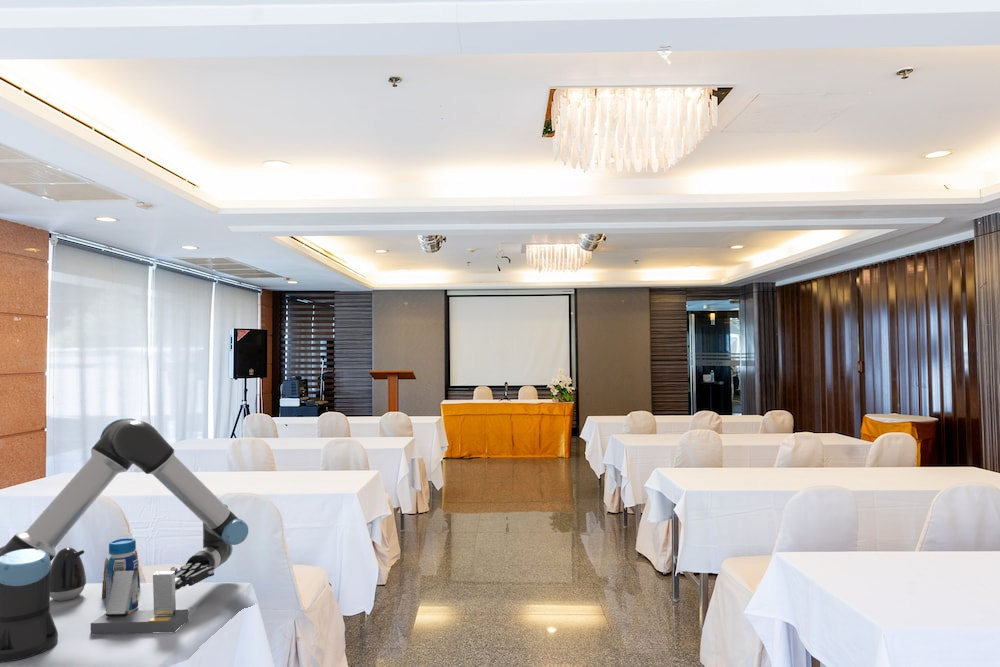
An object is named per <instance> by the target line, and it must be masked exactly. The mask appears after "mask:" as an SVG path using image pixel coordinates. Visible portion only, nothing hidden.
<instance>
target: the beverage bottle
mask: <svg viewBox="0 0 1000 667" xmlns="http://www.w3.org/2000/svg"><path fill="white" fill-rule="evenodd" d="M136 543H137V541H136V538H133V537H132V538H131V537H126V538H117V539H113V540H111V541H110V542H109V543H108V554H109V556H110V557H109V559H108V562H107V565H106V569H107V573H106V575H105V579H106V599H105V612H106V611H107V607H108V602H109V598H110V593H111V589H112V585H113V580H114V576H115V572H116V571H137V574H136V578H135V583H134V588H133V592H132V597H131V602H130V606H129V610H133V611H137V609H138V608H139V589H138V575H139V576H140V569H139V558H138V559H137V557H136V555H135V554H134V552H135V550H136V548H137V547H136V545H137V544H136ZM137 565H138V567H137Z"/></svg>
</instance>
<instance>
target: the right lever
mask: <svg viewBox="0 0 1000 667" xmlns="http://www.w3.org/2000/svg"><path fill="white" fill-rule="evenodd" d="M152 588H153V590H152V592H153V596H152V597H153V610H154V615H175V613H176V610H177V609H176V607H177V606H176V603H177V602H176V591H175V571H171V570H169V571H167V570H166V571H155V572H154V573H152Z"/></svg>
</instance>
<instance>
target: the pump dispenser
mask: <svg viewBox="0 0 1000 667" xmlns="http://www.w3.org/2000/svg"><path fill="white" fill-rule="evenodd" d="M84 554H85V550H83V549H82V550H79V551H77V550H76V549H75V548H74V547H65V548H62V549H61V550H59V551H58V552H57V553H56V556H55V557H54V558H53V559H52V561H51V569H50V599H52V600H54V601H57V602H65V601H71V600H73V599H75V598H77V597H78V596H79V595H81V594H82V592H83V591H84V589H85V587H86V586H85V585H86V584H87V575H86V571H85V566H84V563H83V561H82V558H81V555H84Z"/></svg>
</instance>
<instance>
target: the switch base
mask: <svg viewBox="0 0 1000 667" xmlns="http://www.w3.org/2000/svg"><path fill="white" fill-rule="evenodd" d="M187 620H188V621H189V609H187V608H186V609H176V613H175V615H154V609H152V610H149V609H148V610H147V609H146V610H134V611H133V610H129V611H128V614H127V616H106V612H105V613H104V614H102V615H100V616H99V617H98V618H96V619H95V620H93V621H92V622H90V635H91V636H93V635H92V634H100V635H129V634H130V635H131V634H132V635H134V634H135V633H139V634H154V633H153V632H175V631H176V630H177V629H178V628H179V627H180V626H181V625H183V624H184V623H185V622H186V621H187ZM188 621H187V622H188ZM187 622H186V623H187ZM186 623H185V624H186ZM185 624H184V625H185ZM184 625H183V626H184ZM180 628H181V627H180ZM180 628H179V629H180ZM179 629H178V630H179ZM178 630H177V631H178ZM177 631H176V632H177ZM176 632H175V633H176Z"/></svg>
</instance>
